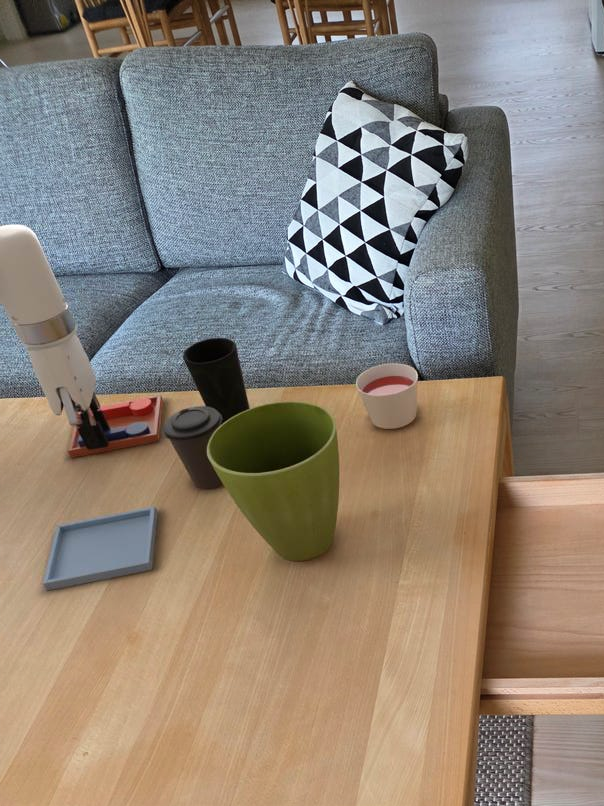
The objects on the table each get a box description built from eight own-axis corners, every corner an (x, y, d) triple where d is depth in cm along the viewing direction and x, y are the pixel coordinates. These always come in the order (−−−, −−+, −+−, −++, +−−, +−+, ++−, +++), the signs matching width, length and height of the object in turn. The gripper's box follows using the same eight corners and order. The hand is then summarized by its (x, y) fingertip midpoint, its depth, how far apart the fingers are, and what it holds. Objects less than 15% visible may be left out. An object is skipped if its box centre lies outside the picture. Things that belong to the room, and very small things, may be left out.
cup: (269, 416, 133) (246, 343, 125) (234, 442, 129) (209, 368, 121) (233, 405, 137) (209, 333, 128) (198, 430, 133) (171, 357, 124)
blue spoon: (81, 454, 130) (77, 445, 129) (81, 442, 132) (77, 433, 131) (151, 437, 132) (147, 428, 130) (149, 426, 134) (146, 417, 133)
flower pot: (329, 592, 104) (296, 482, 92) (223, 572, 108) (180, 464, 97) (381, 516, 113) (357, 408, 102) (282, 500, 118) (249, 395, 106)
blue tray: (46, 590, 109) (42, 583, 108) (60, 532, 117) (56, 525, 117) (152, 569, 110) (148, 562, 109) (158, 513, 118) (154, 506, 118)
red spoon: (86, 426, 136) (82, 417, 135) (89, 415, 138) (85, 406, 137) (152, 414, 137) (149, 405, 135) (154, 403, 139) (150, 394, 138)
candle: (363, 406, 133) (355, 368, 128) (421, 397, 133) (415, 359, 129) (364, 438, 127) (356, 399, 122) (425, 429, 127) (419, 390, 122)
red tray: (70, 457, 130) (67, 451, 130) (80, 416, 139) (77, 409, 138) (159, 441, 131) (156, 434, 131) (163, 401, 140) (160, 394, 139)
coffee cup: (207, 457, 127) (184, 396, 120) (252, 467, 124) (231, 405, 117) (172, 489, 122) (146, 427, 115) (218, 500, 119) (194, 437, 112)
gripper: (28, 304, 123) (83, 418, 136) (4, 357, 112) (66, 476, 125) (81, 295, 124) (130, 409, 137) (63, 348, 112) (118, 466, 125)
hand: (99, 440), depth 131 cm, fingers closed
